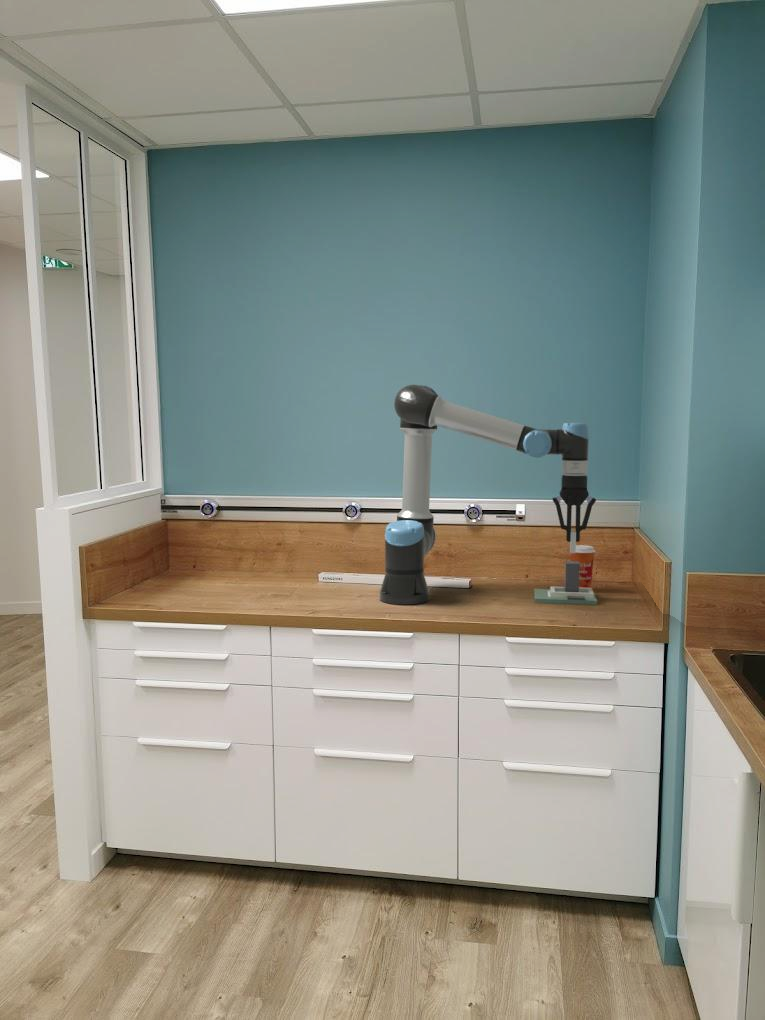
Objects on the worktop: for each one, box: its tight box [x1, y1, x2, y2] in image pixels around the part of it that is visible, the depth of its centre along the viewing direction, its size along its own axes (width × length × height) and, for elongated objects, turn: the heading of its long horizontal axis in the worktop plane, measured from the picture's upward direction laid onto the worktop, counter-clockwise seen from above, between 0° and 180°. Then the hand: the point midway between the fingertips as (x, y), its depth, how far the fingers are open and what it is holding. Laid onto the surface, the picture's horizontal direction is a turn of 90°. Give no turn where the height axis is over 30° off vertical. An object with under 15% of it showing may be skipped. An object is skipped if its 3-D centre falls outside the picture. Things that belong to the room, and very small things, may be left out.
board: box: [533, 586, 598, 606], centre depth 248 cm, size 18×14×3 cm
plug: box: [564, 560, 580, 592], centre depth 248 cm, size 4×5×10 cm
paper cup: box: [570, 544, 597, 588], centre depth 259 cm, size 8×8×14 cm
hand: (572, 552), depth 246 cm, fingers closed
